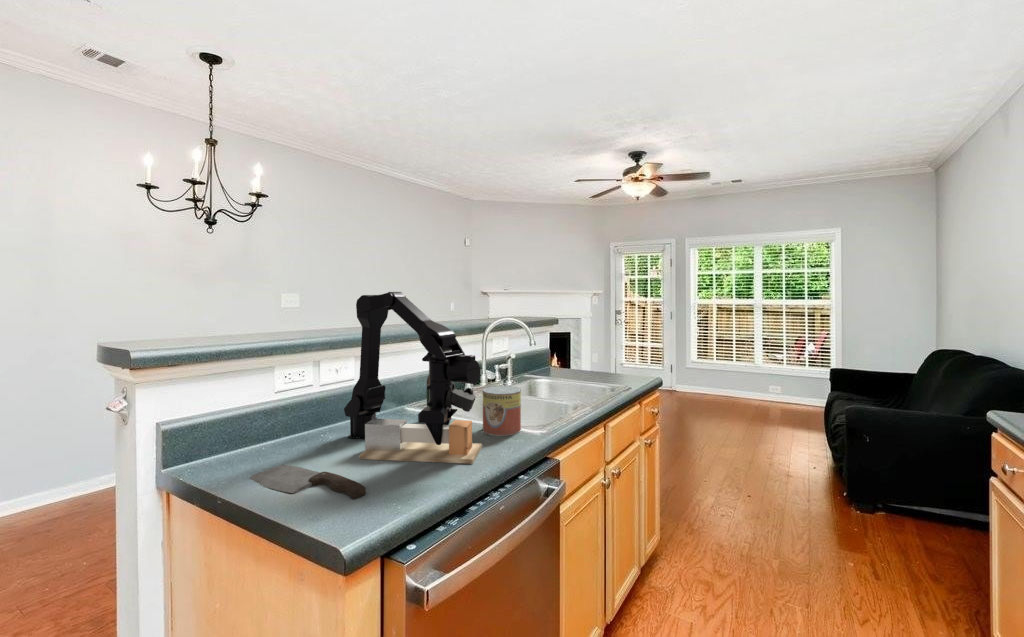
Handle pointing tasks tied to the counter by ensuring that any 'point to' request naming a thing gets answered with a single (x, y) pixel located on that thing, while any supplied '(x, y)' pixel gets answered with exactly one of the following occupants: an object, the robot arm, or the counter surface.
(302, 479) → the cleaver
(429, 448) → the board
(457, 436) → the orange rectangular block
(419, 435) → the off-white square bar
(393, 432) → the sleeve
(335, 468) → the counter surface
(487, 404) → the canned food
